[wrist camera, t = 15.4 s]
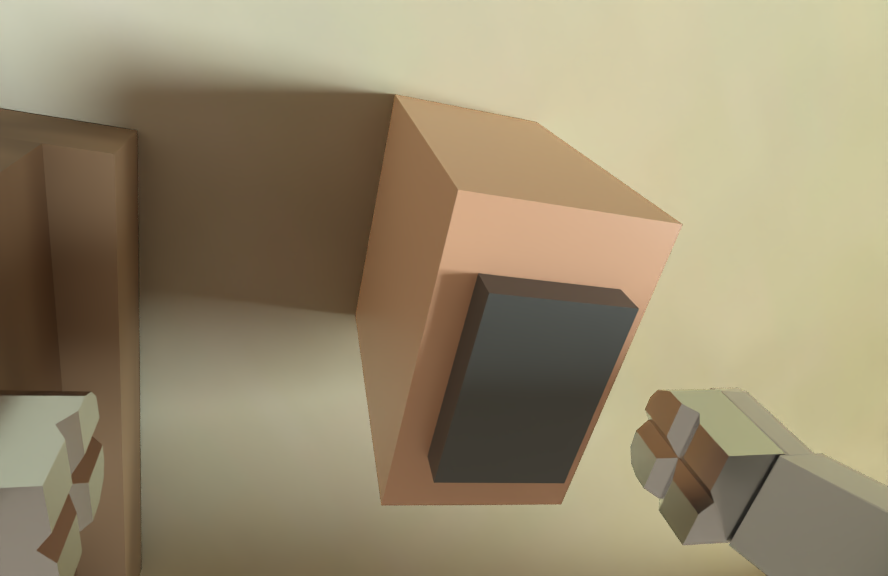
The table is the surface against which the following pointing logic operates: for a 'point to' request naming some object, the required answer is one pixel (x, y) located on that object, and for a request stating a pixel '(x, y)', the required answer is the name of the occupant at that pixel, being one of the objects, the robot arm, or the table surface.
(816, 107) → the table surface
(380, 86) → the table surface
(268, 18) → the table surface
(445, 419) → the orange rectangular block
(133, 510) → the brown slotted tray
